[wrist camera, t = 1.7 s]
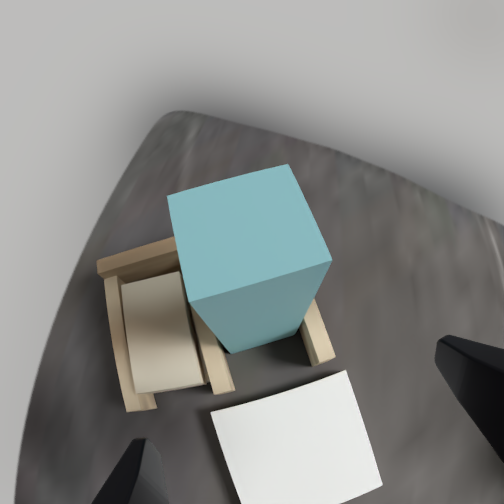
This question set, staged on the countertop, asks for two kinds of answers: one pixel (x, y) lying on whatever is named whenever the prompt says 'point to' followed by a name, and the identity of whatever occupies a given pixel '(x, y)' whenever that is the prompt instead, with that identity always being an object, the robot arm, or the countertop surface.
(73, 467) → the countertop surface
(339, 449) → the white pad
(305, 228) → the teal rectangular block
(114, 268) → the oak rack
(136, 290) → the offcut top
